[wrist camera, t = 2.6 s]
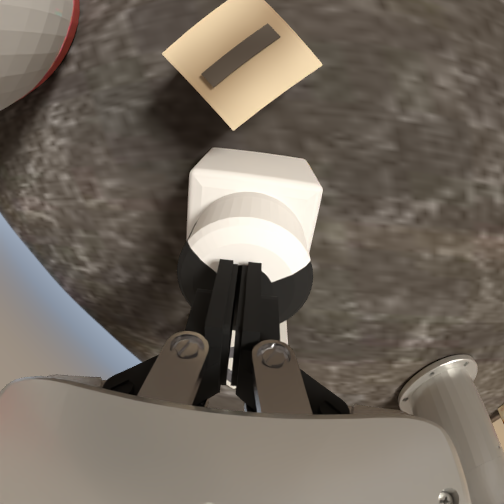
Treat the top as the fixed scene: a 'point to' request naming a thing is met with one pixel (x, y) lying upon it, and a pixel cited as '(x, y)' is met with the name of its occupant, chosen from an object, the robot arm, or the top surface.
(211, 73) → the maple block one
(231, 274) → the robot arm
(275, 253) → the medicine bottle
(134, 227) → the top surface
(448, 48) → the top surface
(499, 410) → the coffeecake box
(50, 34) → the citrus juicer
